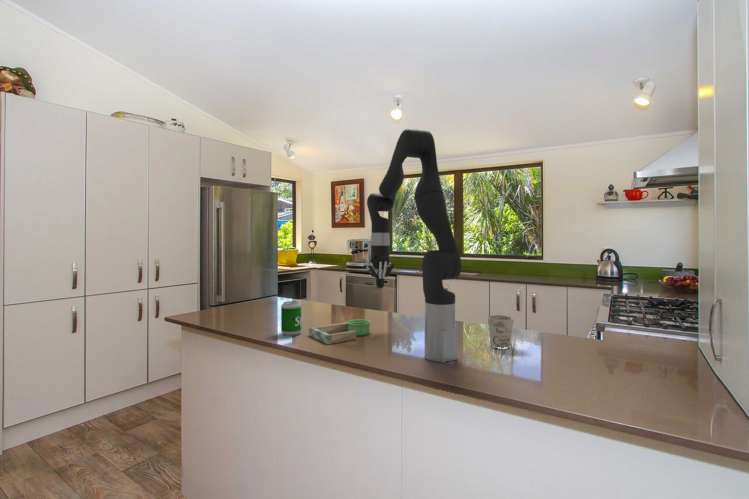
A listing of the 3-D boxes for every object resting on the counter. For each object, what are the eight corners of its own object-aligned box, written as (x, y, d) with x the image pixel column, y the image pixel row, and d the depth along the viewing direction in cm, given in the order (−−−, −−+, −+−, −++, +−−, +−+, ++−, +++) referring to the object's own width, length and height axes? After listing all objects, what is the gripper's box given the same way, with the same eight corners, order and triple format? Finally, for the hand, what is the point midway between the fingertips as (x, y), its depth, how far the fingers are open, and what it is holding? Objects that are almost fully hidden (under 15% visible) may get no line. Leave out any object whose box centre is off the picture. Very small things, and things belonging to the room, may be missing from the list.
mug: (484, 348, 134) (485, 318, 134) (492, 339, 146) (492, 312, 145) (510, 352, 131) (511, 321, 130) (516, 342, 142) (517, 314, 141)
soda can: (290, 337, 148) (290, 305, 147) (277, 334, 152) (276, 302, 152) (305, 333, 154) (305, 302, 153) (292, 330, 158) (292, 300, 158)
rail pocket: (376, 335, 150) (376, 327, 150) (327, 344, 139) (327, 335, 139) (355, 328, 162) (355, 320, 162) (309, 335, 151) (309, 327, 151)
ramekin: (371, 330, 159) (371, 319, 159) (369, 336, 150) (369, 324, 150) (349, 330, 160) (349, 319, 160) (345, 335, 151) (345, 324, 151)
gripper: (371, 244, 152) (371, 290, 153) (399, 244, 160) (399, 287, 161) (361, 244, 158) (360, 288, 159) (388, 243, 166) (387, 285, 167)
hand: (380, 287), depth 160 cm, fingers closed
